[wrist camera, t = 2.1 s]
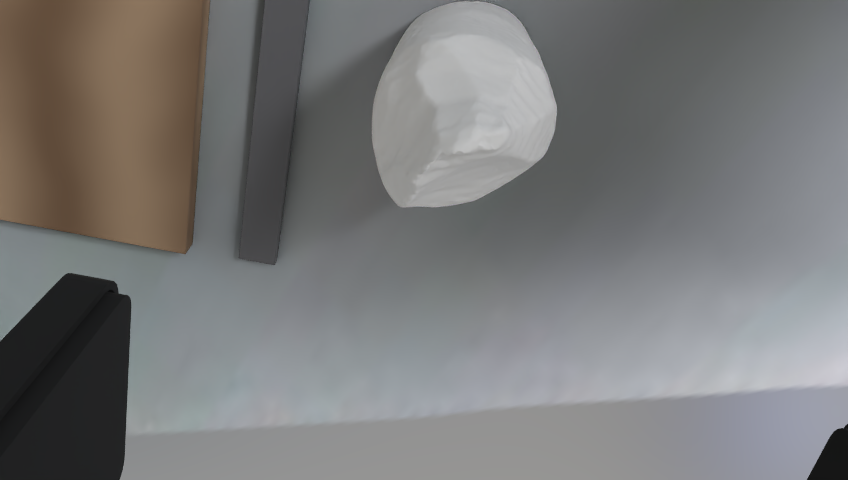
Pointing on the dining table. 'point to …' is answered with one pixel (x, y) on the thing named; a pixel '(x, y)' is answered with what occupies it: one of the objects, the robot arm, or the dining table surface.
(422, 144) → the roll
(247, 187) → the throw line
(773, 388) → the dining table surface
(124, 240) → the board
